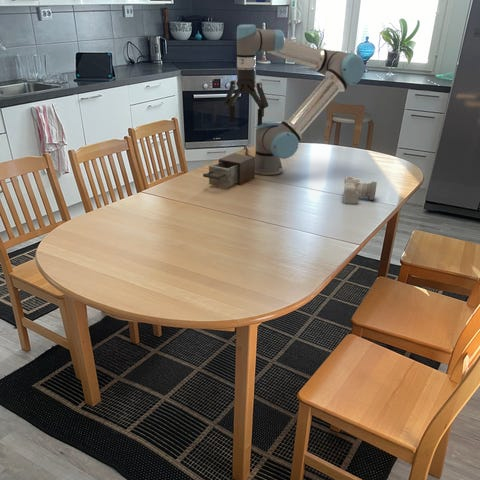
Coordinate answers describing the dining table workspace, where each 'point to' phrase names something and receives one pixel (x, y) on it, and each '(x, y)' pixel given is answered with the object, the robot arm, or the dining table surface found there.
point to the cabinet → (242, 166)
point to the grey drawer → (223, 174)
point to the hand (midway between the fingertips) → (245, 123)
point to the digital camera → (357, 190)
